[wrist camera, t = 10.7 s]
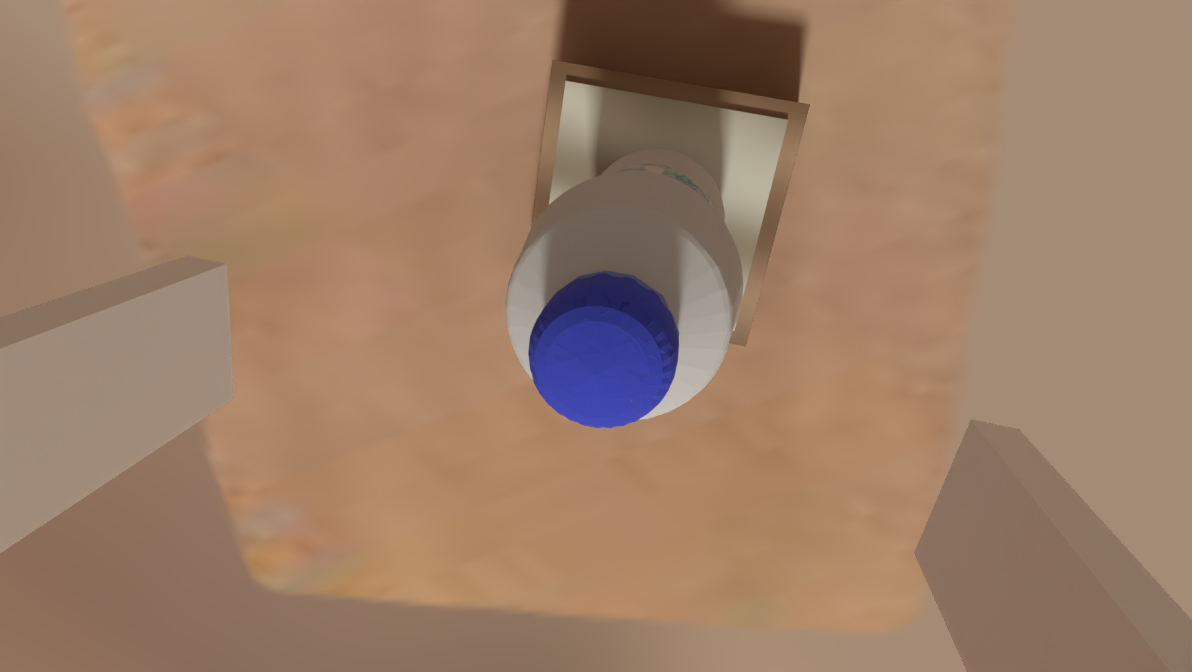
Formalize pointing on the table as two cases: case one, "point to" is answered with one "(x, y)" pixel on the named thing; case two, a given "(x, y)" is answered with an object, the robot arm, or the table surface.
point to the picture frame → (677, 149)
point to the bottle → (627, 291)
